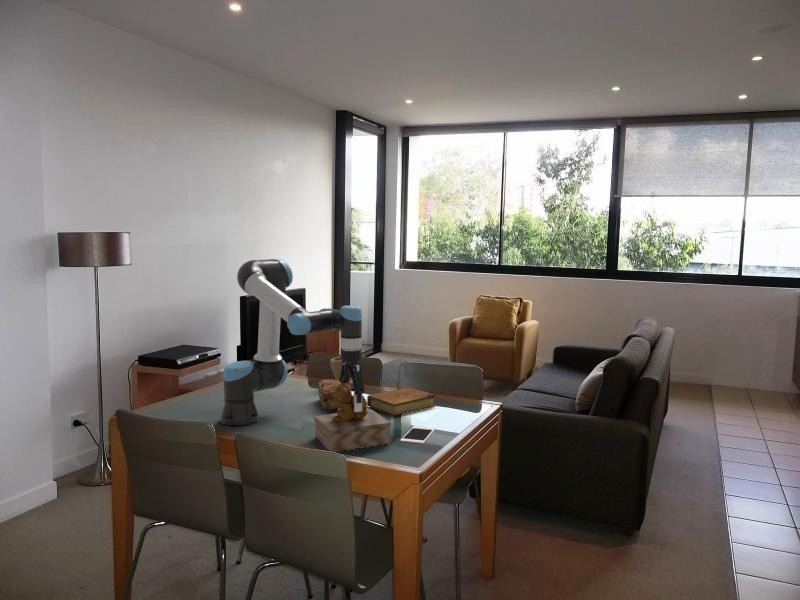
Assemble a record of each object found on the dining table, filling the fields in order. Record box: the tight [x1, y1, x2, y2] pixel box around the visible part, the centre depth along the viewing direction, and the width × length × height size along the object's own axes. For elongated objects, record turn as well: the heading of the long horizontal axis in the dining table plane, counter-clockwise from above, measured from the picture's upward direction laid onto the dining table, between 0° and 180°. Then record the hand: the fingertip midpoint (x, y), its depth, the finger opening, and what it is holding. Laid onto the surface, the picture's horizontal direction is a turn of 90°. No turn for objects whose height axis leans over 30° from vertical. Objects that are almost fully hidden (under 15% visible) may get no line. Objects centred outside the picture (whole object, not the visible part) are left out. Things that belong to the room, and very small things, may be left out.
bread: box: [317, 378, 341, 411], centre depth 280 cm, size 19×11×10 cm, turn 13°
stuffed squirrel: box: [331, 382, 368, 422], centre depth 232 cm, size 10×14×13 cm
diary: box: [366, 386, 436, 417], centre depth 277 cm, size 23×19×6 cm
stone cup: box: [329, 355, 354, 390], centre depth 310 cm, size 15×12×15 cm
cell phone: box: [400, 425, 436, 445], centre depth 239 cm, size 9×18×1 cm, turn 162°
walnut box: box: [313, 408, 391, 453], centre depth 232 cm, size 23×19×8 cm
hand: (351, 406), depth 231 cm, fingers open, 13 cm apart
